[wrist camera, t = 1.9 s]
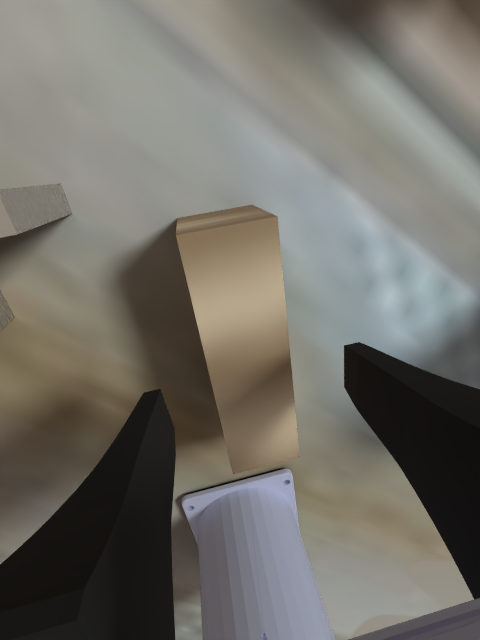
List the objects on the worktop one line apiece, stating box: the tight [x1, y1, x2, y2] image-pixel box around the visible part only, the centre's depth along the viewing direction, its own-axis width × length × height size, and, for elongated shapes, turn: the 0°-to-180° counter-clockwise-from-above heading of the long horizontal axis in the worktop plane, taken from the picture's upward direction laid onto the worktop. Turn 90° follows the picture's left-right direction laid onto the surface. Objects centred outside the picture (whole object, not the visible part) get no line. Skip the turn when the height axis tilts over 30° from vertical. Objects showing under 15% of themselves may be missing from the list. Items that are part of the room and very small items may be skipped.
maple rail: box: [176, 205, 300, 474], centre depth 15 cm, size 12×4×4 cm, turn 9°
